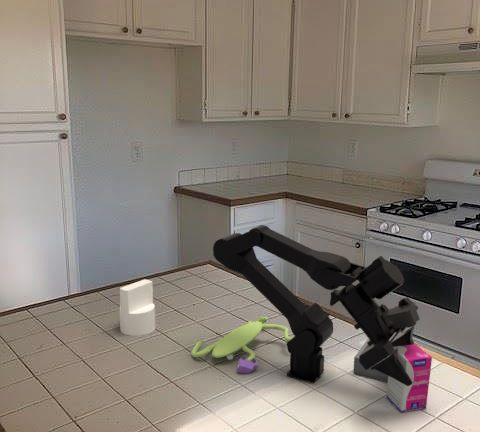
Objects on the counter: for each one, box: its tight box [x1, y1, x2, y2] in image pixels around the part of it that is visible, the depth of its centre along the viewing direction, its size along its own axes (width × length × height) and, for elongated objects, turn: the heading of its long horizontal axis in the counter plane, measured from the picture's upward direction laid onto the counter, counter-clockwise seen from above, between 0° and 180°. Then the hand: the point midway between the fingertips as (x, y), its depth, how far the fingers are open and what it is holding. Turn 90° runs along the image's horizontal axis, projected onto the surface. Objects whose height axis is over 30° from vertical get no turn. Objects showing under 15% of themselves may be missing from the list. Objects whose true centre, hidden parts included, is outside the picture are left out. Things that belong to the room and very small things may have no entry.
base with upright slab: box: [119, 278, 156, 337], centre depth 140 cm, size 9×9×12 cm
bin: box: [352, 337, 388, 384], centre depth 121 cm, size 12×12×4 cm
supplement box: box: [386, 343, 433, 413], centre depth 107 cm, size 6×6×12 cm
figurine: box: [190, 315, 293, 374], centre depth 129 cm, size 18×27×6 cm
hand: (416, 375), depth 106 cm, fingers closed on supplement box, 8 cm apart
